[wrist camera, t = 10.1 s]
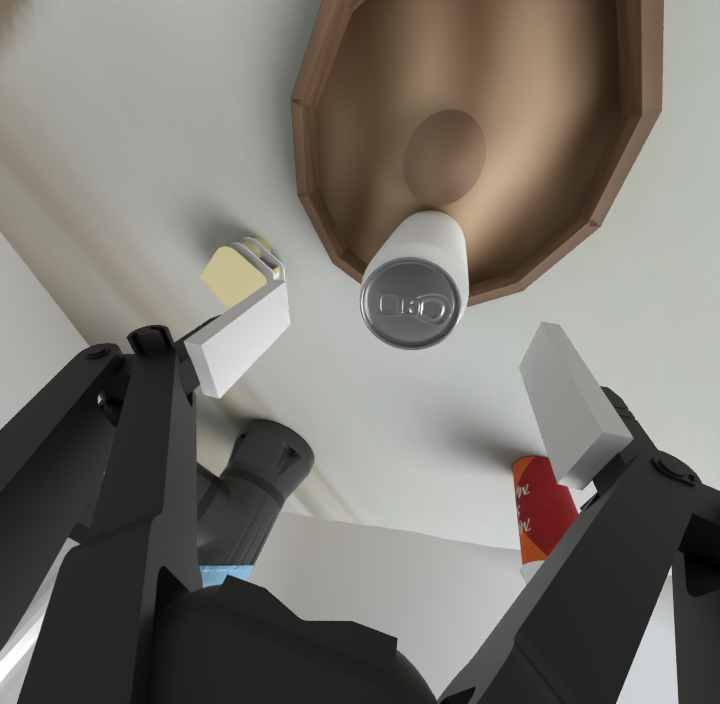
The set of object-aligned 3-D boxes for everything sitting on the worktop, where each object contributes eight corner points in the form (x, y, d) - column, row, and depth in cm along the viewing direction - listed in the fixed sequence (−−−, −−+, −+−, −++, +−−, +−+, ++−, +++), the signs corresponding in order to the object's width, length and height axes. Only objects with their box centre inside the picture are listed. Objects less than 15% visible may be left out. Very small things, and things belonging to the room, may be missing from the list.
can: (457, 287, 26) (457, 363, 17) (389, 281, 27) (354, 348, 18) (473, 210, 22) (483, 253, 13) (392, 207, 24) (350, 245, 14)
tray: (319, 274, 31) (304, 288, 28) (305, -66, 17) (274, -110, 14) (536, 309, 26) (546, 329, 23) (734, -105, 13) (814, -179, 10)
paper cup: (496, 455, 39) (511, 573, 28) (559, 446, 35) (606, 580, 24) (515, 487, 42) (536, 606, 31) (576, 483, 38) (625, 618, 27)
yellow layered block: (262, 311, 36) (236, 333, 32) (212, 250, 33) (175, 265, 29) (318, 276, 31) (295, 296, 27) (265, 199, 28) (230, 208, 24)
